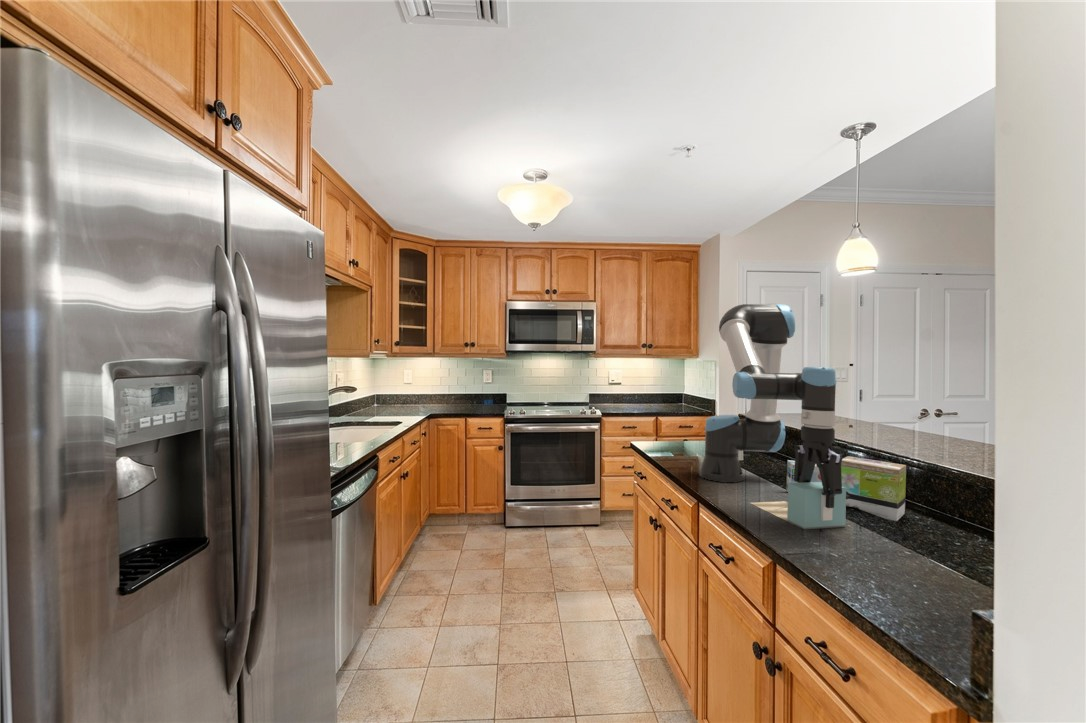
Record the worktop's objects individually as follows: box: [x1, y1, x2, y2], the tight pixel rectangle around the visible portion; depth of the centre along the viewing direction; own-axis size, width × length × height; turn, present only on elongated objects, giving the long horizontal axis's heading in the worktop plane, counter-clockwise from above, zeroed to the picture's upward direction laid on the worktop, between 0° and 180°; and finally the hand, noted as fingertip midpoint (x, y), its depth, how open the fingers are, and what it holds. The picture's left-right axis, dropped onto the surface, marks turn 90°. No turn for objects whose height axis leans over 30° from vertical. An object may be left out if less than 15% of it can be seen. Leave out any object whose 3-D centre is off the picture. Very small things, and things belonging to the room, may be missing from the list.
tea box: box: [841, 455, 907, 522], centre depth 135 cm, size 15×10×15 cm
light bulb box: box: [785, 459, 824, 492], centre depth 151 cm, size 11×7×11 cm, turn 74°
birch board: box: [750, 500, 788, 522], centre depth 129 cm, size 18×12×2 cm, turn 11°
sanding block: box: [786, 482, 847, 530], centre depth 119 cm, size 6×12×10 cm, turn 101°
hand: (816, 515), depth 119 cm, fingers closed on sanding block, 6 cm apart
